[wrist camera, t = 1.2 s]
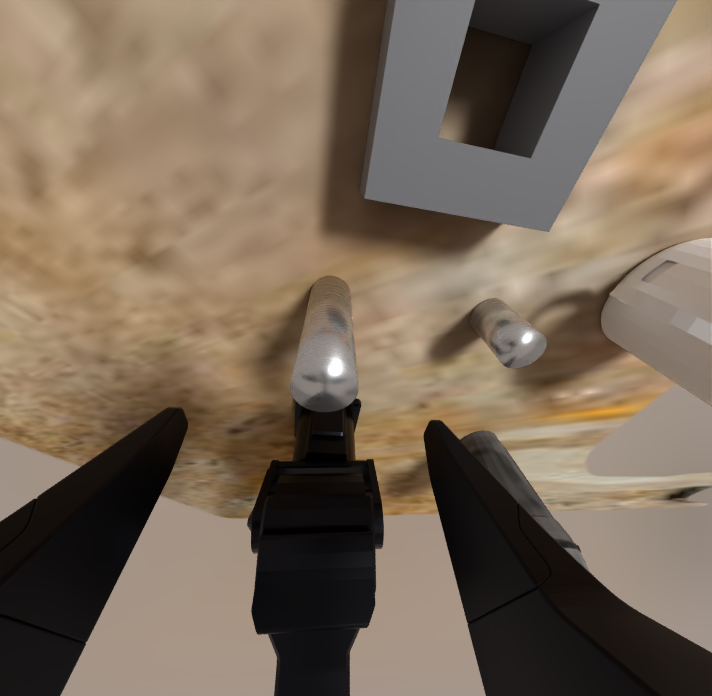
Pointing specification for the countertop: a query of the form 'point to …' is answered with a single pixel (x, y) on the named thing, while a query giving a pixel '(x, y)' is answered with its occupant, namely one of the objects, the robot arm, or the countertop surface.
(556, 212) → the hole block
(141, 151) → the countertop surface
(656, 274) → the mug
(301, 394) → the long pin
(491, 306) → the short pin
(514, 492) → the beverage cup
